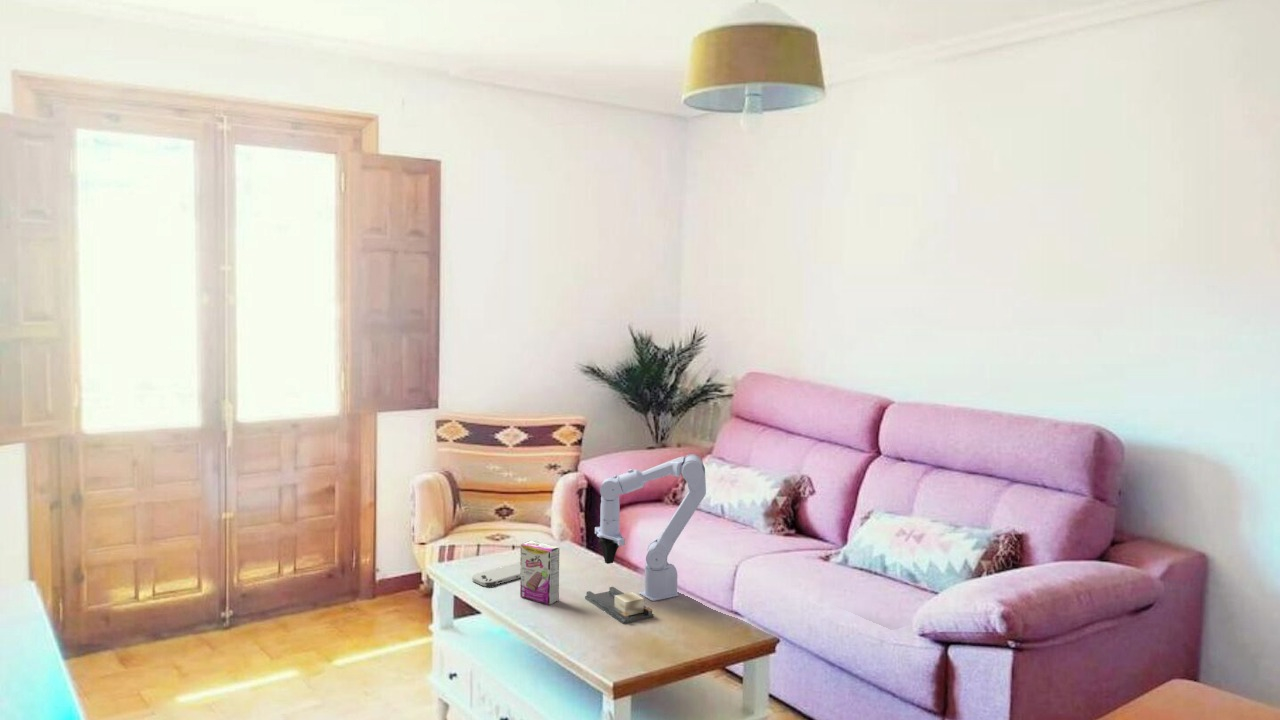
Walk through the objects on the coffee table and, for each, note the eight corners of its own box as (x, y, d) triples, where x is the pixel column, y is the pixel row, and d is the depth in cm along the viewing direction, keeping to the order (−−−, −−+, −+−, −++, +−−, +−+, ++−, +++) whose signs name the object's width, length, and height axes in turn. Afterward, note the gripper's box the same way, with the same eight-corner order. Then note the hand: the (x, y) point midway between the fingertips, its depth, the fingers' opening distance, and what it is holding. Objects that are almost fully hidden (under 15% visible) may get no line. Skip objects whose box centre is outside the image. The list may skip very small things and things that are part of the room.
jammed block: (632, 605, 259) (632, 592, 258) (643, 612, 254) (643, 598, 253) (614, 609, 256) (614, 595, 255) (625, 616, 251) (625, 602, 250)
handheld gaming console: (527, 557, 296) (546, 564, 289) (527, 565, 296) (546, 573, 289) (467, 572, 280) (486, 581, 273) (467, 581, 280) (486, 590, 273)
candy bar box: (519, 597, 266) (519, 543, 264) (530, 593, 270) (530, 539, 268) (549, 606, 260) (549, 550, 258) (559, 600, 264) (560, 546, 263)
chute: (614, 592, 272) (614, 585, 271) (653, 617, 253) (653, 609, 253) (585, 598, 266) (585, 591, 266) (623, 623, 248) (623, 615, 247)
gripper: (586, 514, 273) (585, 558, 274) (610, 526, 261) (610, 572, 262) (606, 511, 276) (605, 554, 278) (631, 523, 264) (630, 568, 266)
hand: (609, 562), depth 270 cm, fingers closed
